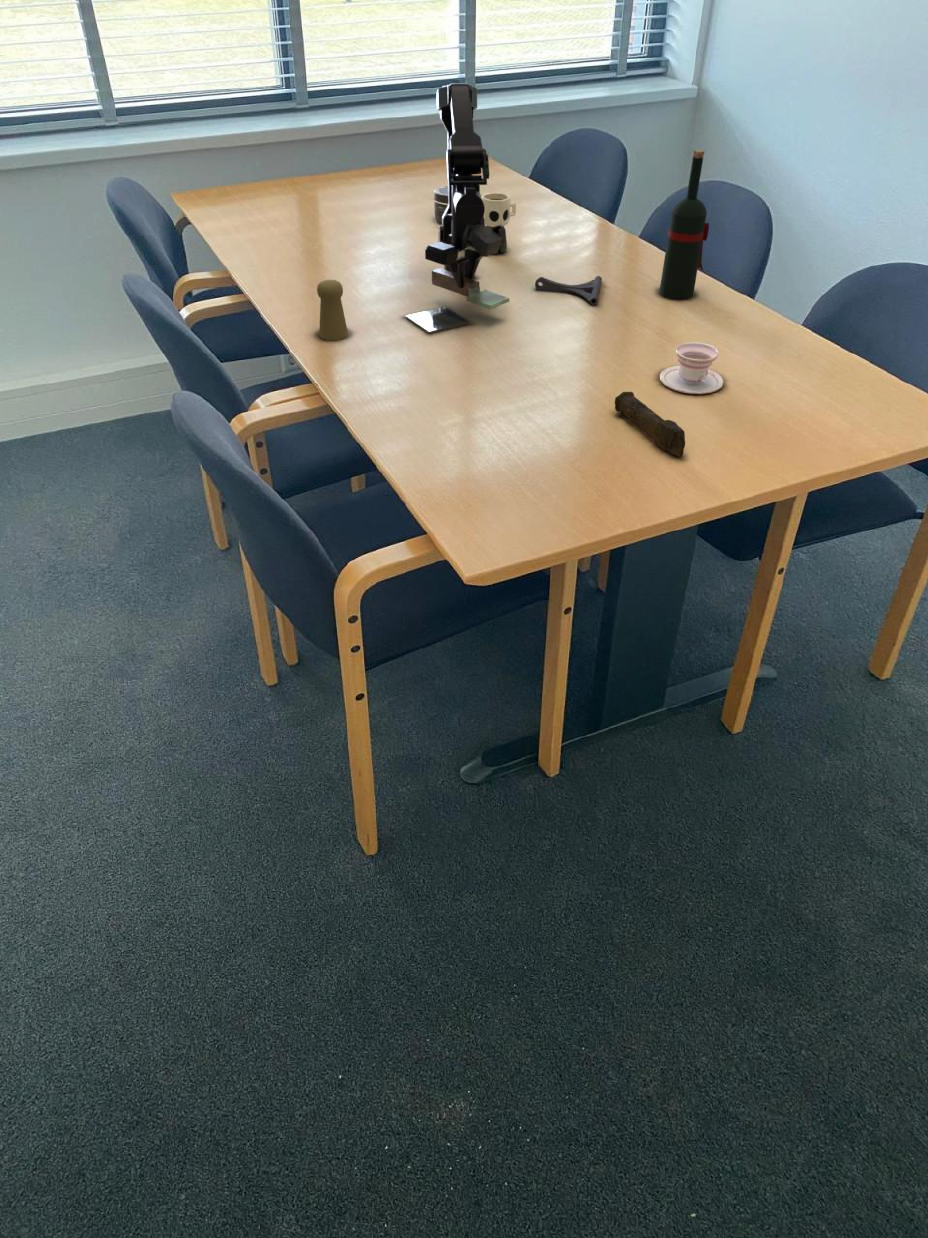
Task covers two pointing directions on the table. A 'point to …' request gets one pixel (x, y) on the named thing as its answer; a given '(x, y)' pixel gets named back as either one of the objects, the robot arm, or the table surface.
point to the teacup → (693, 370)
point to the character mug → (498, 211)
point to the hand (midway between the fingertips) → (464, 285)
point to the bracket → (573, 288)
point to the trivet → (437, 320)
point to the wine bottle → (685, 240)
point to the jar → (440, 202)
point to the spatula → (468, 289)
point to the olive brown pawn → (331, 311)
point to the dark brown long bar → (652, 423)
